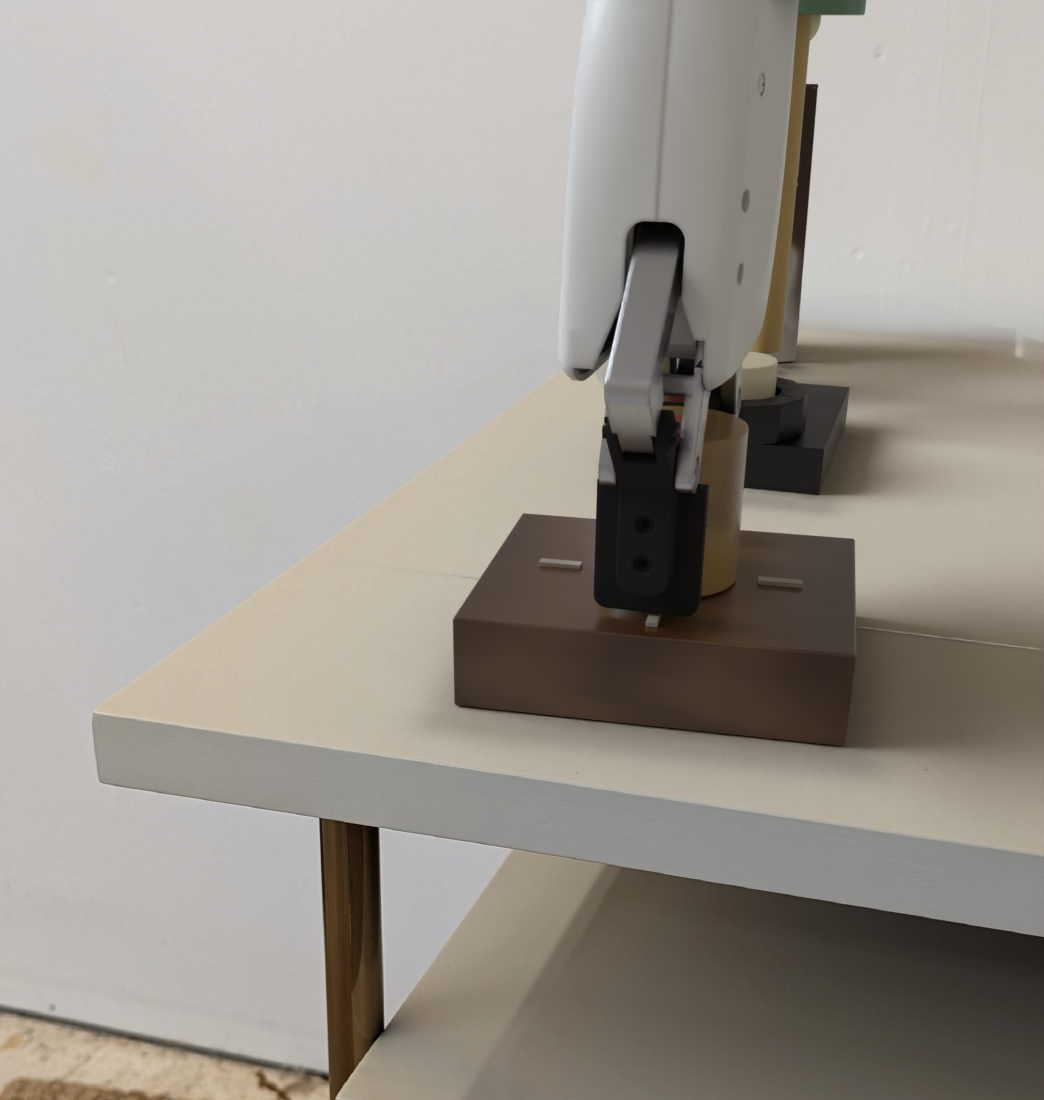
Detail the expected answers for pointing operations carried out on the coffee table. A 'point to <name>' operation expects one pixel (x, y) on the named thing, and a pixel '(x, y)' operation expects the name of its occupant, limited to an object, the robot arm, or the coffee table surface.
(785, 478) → the black button base
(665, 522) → the robot arm
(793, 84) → the lamp
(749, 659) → the dimmer panel
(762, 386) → the button
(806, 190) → the coffee box
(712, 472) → the dimmer knob
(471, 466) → the coffee table surface
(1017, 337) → the coffee table surface
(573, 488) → the coffee table surface
